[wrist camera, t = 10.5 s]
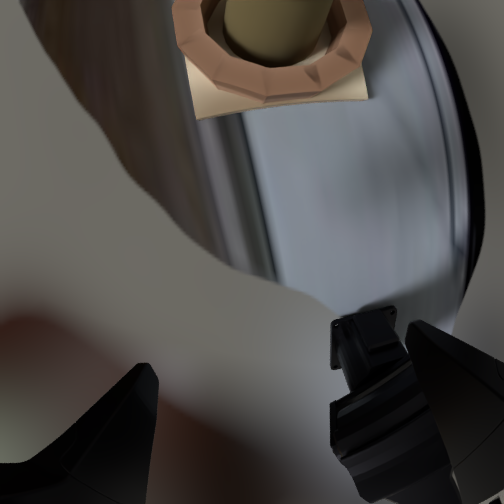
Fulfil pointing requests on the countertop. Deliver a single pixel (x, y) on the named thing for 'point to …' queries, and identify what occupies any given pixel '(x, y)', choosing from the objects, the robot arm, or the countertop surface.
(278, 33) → the cork
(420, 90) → the countertop surface
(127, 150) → the countertop surface
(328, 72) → the socket board
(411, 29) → the countertop surface
